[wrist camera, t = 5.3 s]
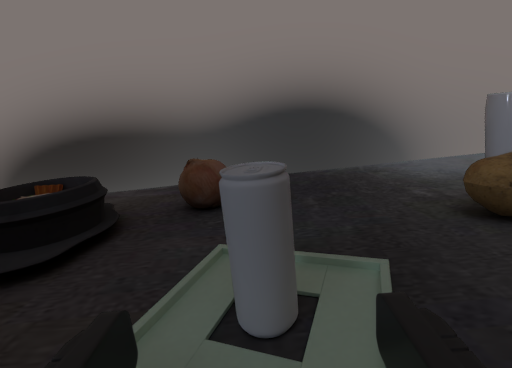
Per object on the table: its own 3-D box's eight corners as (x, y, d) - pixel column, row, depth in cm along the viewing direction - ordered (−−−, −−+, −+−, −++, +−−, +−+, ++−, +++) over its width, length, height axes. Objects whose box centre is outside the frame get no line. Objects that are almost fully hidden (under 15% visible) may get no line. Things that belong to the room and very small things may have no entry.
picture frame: (81, 392, 17) (76, 376, 17) (220, 253, 34) (219, 243, 33) (415, 525, 11) (417, 503, 10) (388, 270, 27) (388, 259, 26)
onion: (190, 224, 52) (159, 178, 51) (225, 197, 58) (198, 156, 57) (214, 216, 45) (178, 163, 44) (251, 186, 51) (221, 138, 49)
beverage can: (299, 299, 24) (289, 159, 21) (298, 344, 19) (286, 173, 16) (243, 298, 25) (227, 163, 22) (230, 341, 20) (207, 177, 17)
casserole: (35, 222, 53) (22, 178, 51) (139, 208, 55) (130, 165, 53) (-113, 308, 29) (-149, 231, 27) (83, 277, 31) (63, 204, 29)
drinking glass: (502, 174, 54) (511, 92, 50) (471, 168, 60) (477, 95, 57) (533, 170, 55) (545, 88, 51) (499, 164, 61) (507, 92, 58)
